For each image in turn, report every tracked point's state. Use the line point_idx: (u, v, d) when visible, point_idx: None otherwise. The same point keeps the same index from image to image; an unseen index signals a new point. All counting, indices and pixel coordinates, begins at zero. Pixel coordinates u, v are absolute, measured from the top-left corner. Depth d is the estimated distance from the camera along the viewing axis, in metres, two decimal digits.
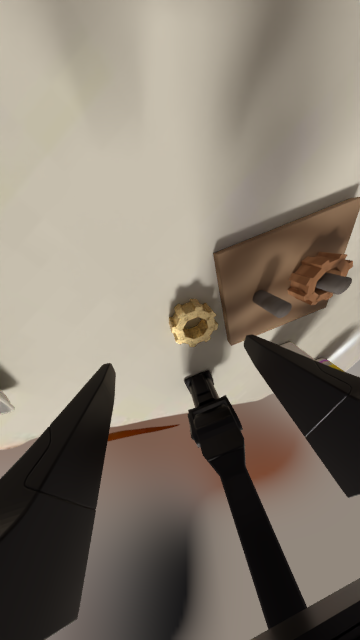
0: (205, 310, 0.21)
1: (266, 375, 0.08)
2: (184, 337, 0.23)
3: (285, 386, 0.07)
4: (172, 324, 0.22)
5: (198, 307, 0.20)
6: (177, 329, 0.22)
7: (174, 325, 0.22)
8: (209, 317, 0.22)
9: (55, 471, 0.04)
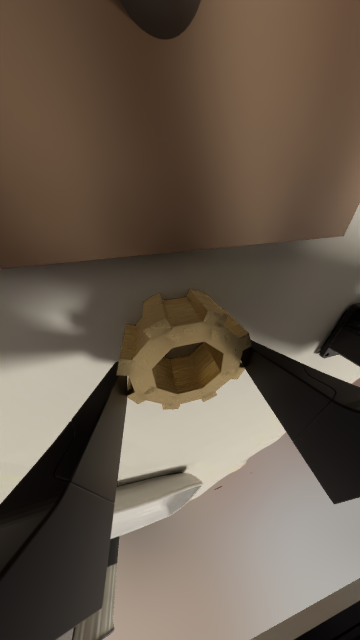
0: (142, 340, 0.07)
1: (255, 378, 0.08)
2: (202, 389, 0.09)
3: (274, 389, 0.07)
4: None
5: (119, 367, 0.07)
6: (172, 401, 0.09)
7: None
8: (165, 338, 0.06)
9: (82, 463, 0.04)
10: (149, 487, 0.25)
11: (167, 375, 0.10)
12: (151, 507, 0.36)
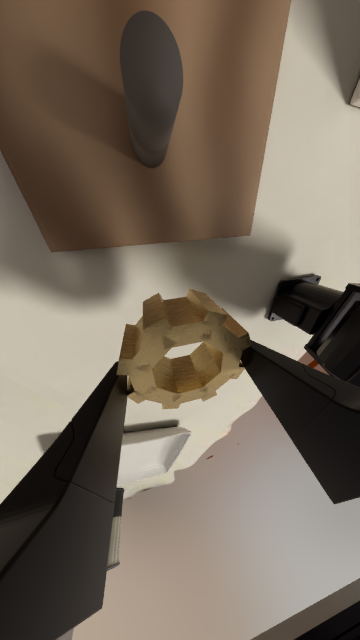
0: (142, 340, 0.07)
1: (255, 378, 0.08)
2: (202, 389, 0.09)
3: (274, 389, 0.07)
4: None
5: (119, 367, 0.07)
6: (172, 400, 0.09)
7: None
8: (164, 338, 0.06)
9: (82, 463, 0.04)
10: (149, 433, 0.31)
11: (167, 375, 0.10)
12: (150, 464, 0.43)
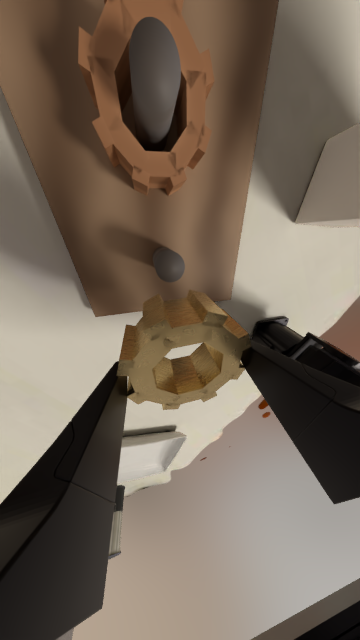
0: (142, 341, 0.07)
1: (255, 378, 0.08)
2: (202, 389, 0.09)
3: (274, 389, 0.07)
4: None
5: (119, 368, 0.07)
6: (173, 401, 0.09)
7: None
8: (164, 339, 0.06)
9: (82, 463, 0.04)
10: (150, 436, 0.37)
11: (167, 375, 0.10)
12: (150, 464, 0.49)
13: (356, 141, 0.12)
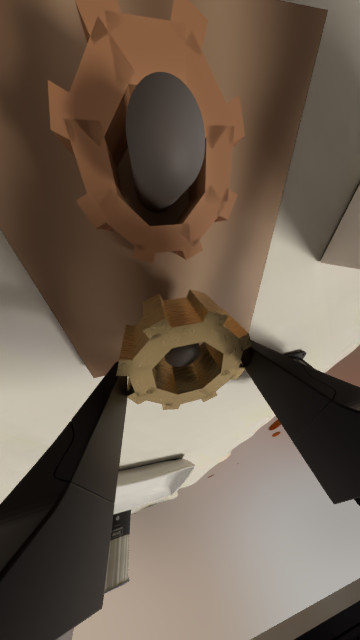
0: (142, 340, 0.07)
1: (255, 378, 0.08)
2: (202, 389, 0.09)
3: (274, 389, 0.07)
4: None
5: (119, 368, 0.07)
6: (173, 401, 0.09)
7: None
8: (164, 338, 0.06)
9: (82, 463, 0.04)
10: (157, 468, 0.35)
11: (167, 375, 0.10)
12: (157, 488, 0.47)
13: None
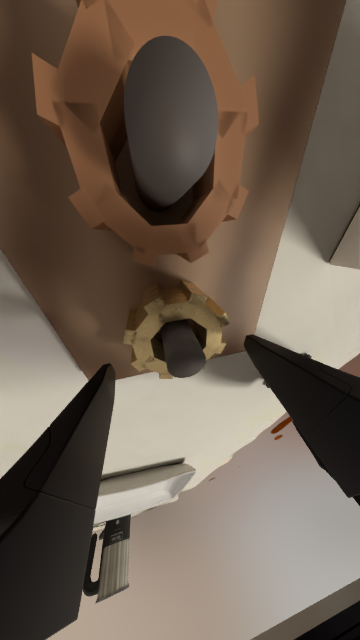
0: (143, 316, 0.09)
1: (266, 375, 0.08)
2: None
3: (285, 386, 0.07)
4: None
5: (125, 337, 0.09)
6: (167, 371, 0.11)
7: None
8: (160, 314, 0.09)
9: (55, 471, 0.04)
10: (157, 473, 0.34)
11: (163, 351, 0.12)
12: (157, 492, 0.46)
13: None
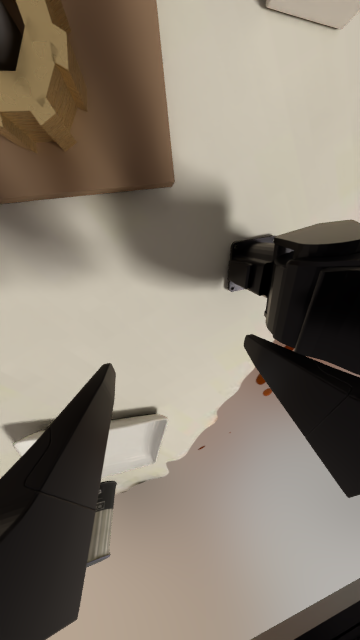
0: None
1: (266, 375, 0.08)
2: (19, 77, 0.07)
3: (285, 386, 0.07)
4: None
5: None
6: None
7: None
8: None
9: (55, 471, 0.04)
10: (123, 420, 0.30)
11: None
12: (136, 455, 0.43)
13: None
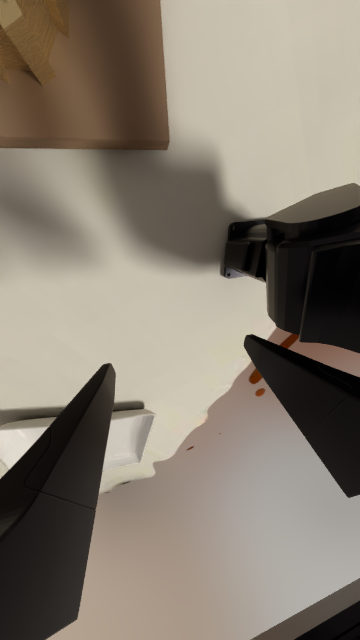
0: None
1: (266, 375, 0.08)
2: None
3: (285, 386, 0.07)
4: None
5: None
6: None
7: None
8: None
9: (55, 471, 0.04)
10: None
11: None
12: (121, 453, 0.41)
13: None
